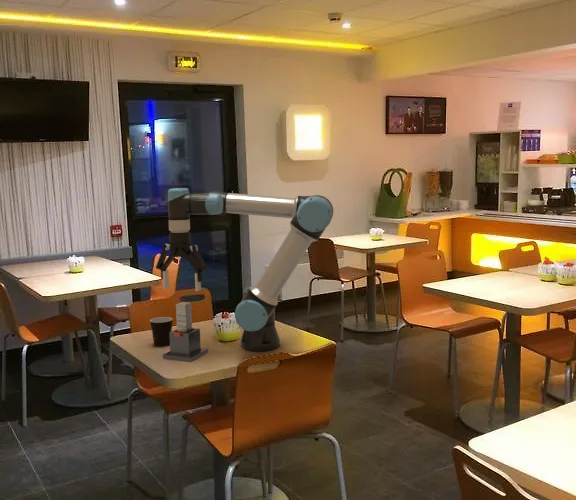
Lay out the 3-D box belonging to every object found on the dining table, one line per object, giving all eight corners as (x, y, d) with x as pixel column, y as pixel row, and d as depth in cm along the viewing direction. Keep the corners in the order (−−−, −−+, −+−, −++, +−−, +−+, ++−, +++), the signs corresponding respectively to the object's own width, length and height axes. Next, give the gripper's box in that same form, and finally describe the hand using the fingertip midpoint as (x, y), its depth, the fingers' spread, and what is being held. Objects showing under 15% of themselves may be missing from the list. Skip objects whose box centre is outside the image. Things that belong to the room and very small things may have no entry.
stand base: (208, 352, 232) (207, 327, 230) (191, 362, 221) (190, 335, 219) (180, 349, 236) (179, 324, 235) (162, 358, 225) (161, 332, 224)
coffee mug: (168, 348, 239) (167, 322, 237) (147, 347, 240) (146, 322, 239) (179, 339, 250) (178, 315, 249) (159, 339, 252) (158, 315, 250)
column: (193, 350, 229) (191, 302, 227) (186, 353, 225) (184, 305, 223) (184, 349, 231) (181, 301, 228) (177, 352, 227) (175, 304, 224)
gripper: (215, 231, 221) (217, 289, 224) (156, 229, 231) (159, 285, 233) (204, 233, 214) (206, 293, 217) (144, 231, 224) (147, 289, 227)
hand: (182, 289), depth 225 cm, fingers open, 13 cm apart
